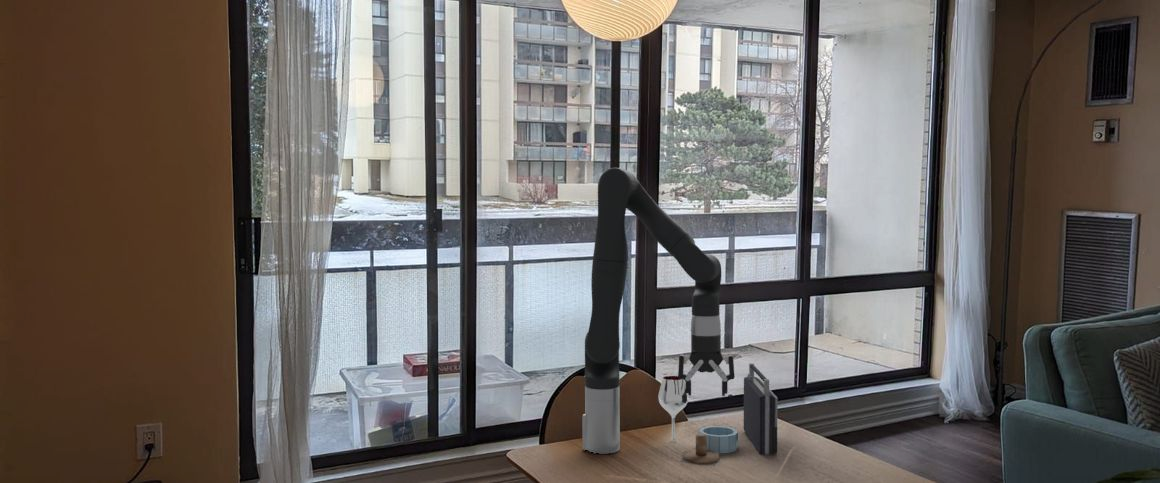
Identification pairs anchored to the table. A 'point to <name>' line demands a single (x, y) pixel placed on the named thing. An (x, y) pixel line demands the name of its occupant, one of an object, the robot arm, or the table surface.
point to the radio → (760, 412)
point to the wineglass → (673, 397)
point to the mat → (704, 464)
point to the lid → (701, 452)
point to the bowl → (720, 438)
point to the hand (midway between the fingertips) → (706, 395)
